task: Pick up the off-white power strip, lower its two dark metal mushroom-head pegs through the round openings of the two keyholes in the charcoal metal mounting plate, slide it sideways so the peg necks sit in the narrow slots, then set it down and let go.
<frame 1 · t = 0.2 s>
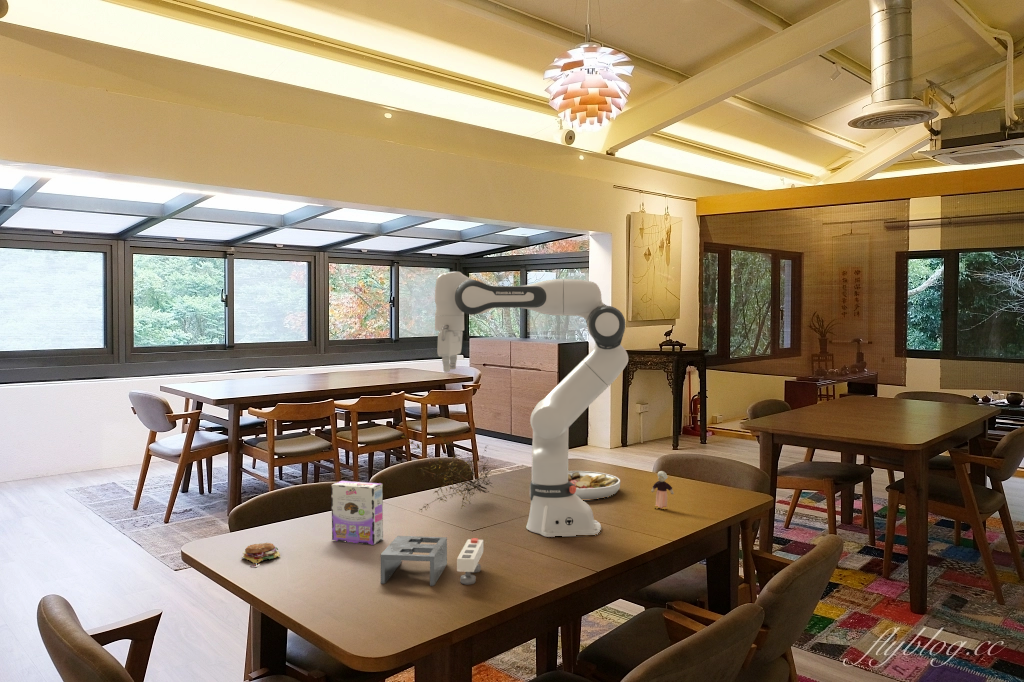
hand: (449, 370, 216), 48 cm above the table, tool pointing down, fingers open, 8 cm apart
keyhole plate: (415, 573, 176), on the table
candy box: (357, 541, 203), on the table
bowl: (579, 493, 260), on the table
power strip: (470, 575, 174), on the table
hamburger: (260, 562, 186), on the table
dried plant: (459, 515, 230), on the table
grandmother figurine: (662, 509, 236), on the table
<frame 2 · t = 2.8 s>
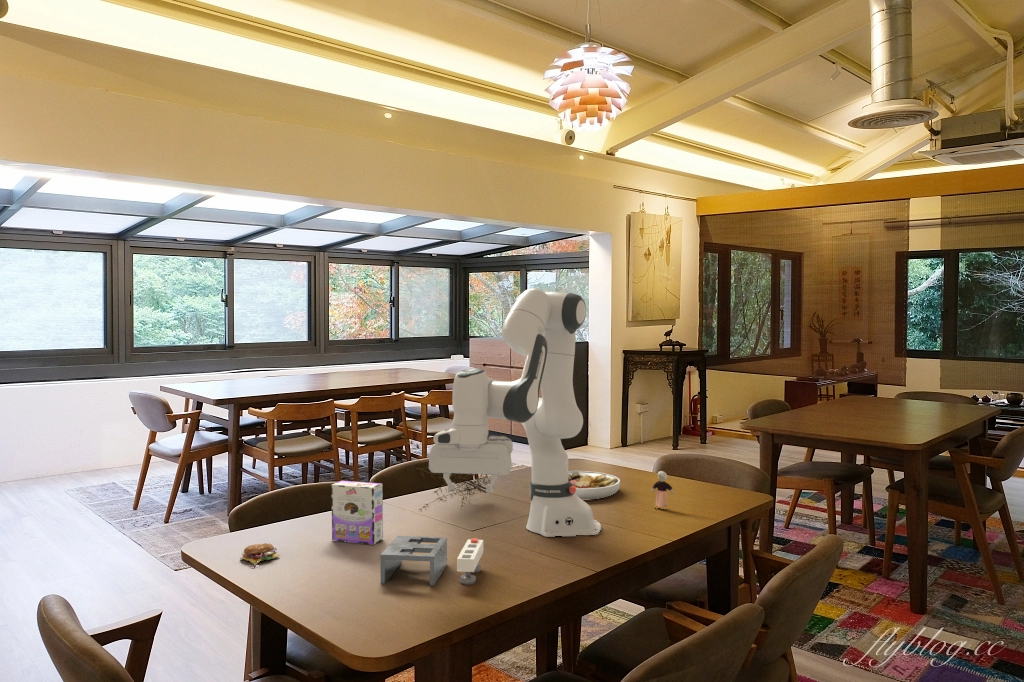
hand: (470, 491, 174), 21 cm above the table, tool pointing down, fingers open, 8 cm apart
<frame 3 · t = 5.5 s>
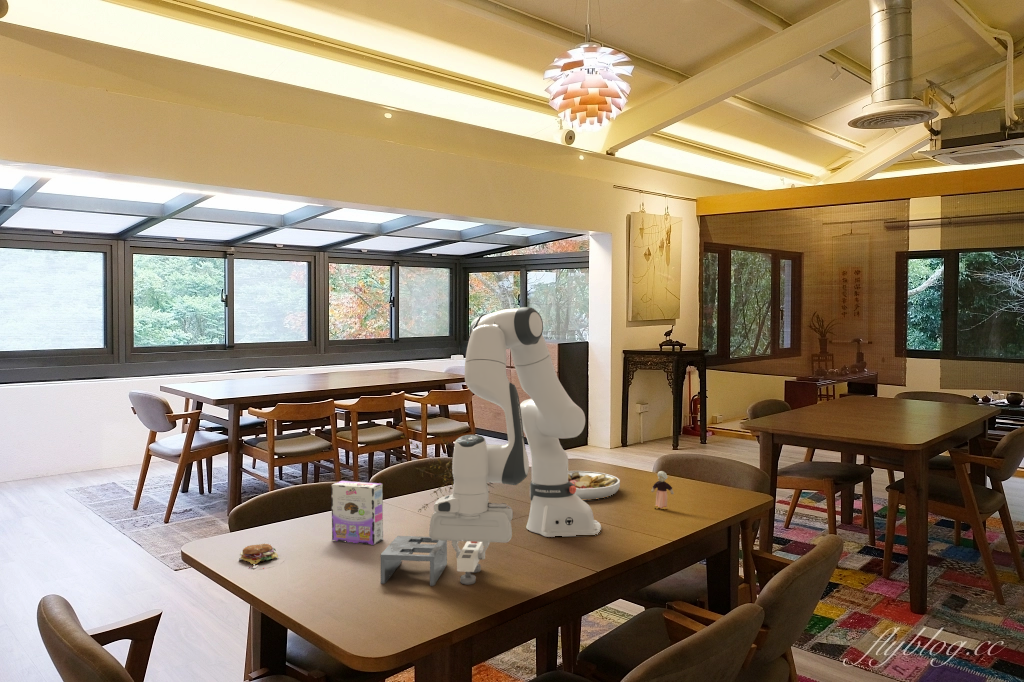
hand: (470, 558, 174), 4 cm above the table, tool pointing down, fingers closed on power strip, 4 cm apart
power strip: (470, 575, 174), on the table, touching gripper
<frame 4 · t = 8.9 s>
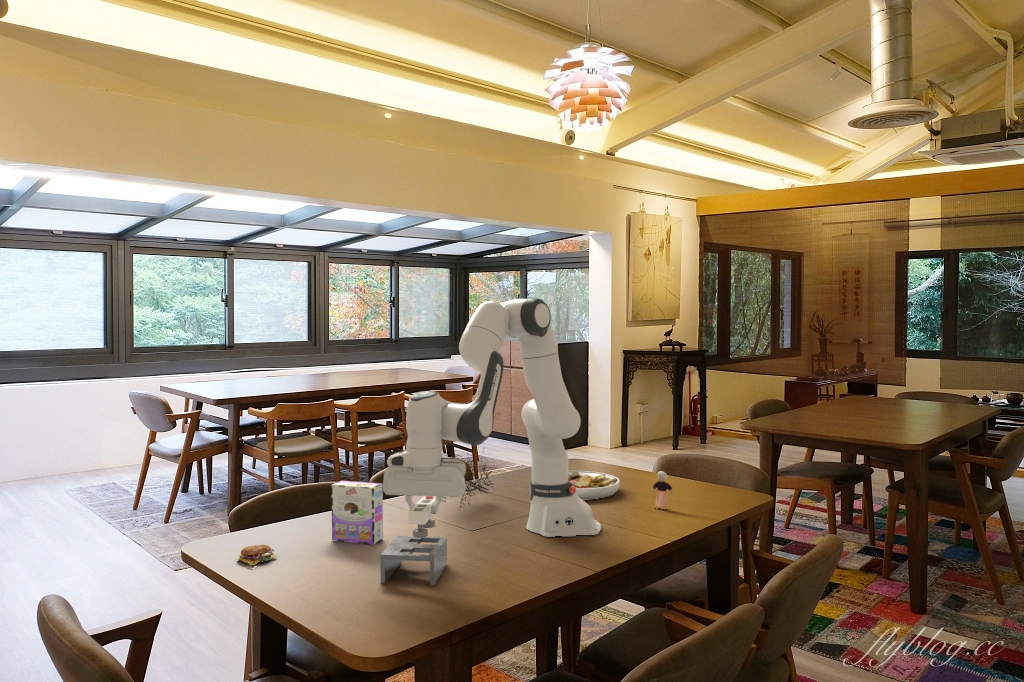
hand: (424, 513, 175), 15 cm above the table, tool pointing down, fingers closed on power strip, 4 cm apart
power strip: (424, 530, 175), point 11 cm above the table, touching gripper
when the fingers open (8 cm above the table, at t = 12.7 s): power strip stays where it is, resting on keyhole plate.
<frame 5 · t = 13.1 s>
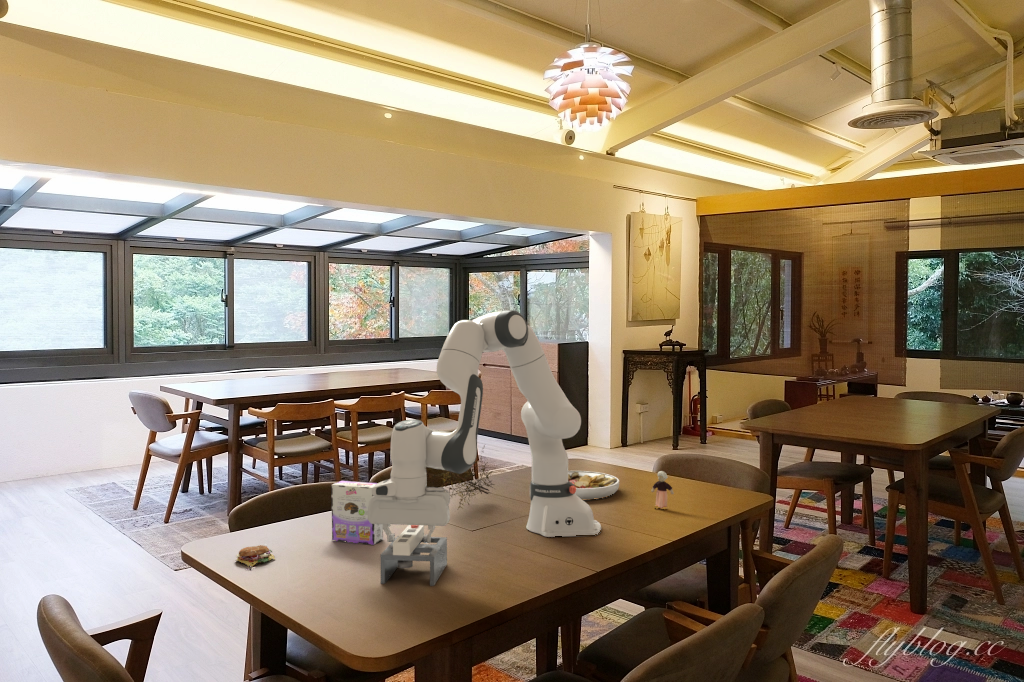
hand: (409, 541, 176), 8 cm above the table, tool pointing down, fingers open, 8 cm apart
power strip: (409, 560, 176), point 3 cm above the table, touching keyhole plate
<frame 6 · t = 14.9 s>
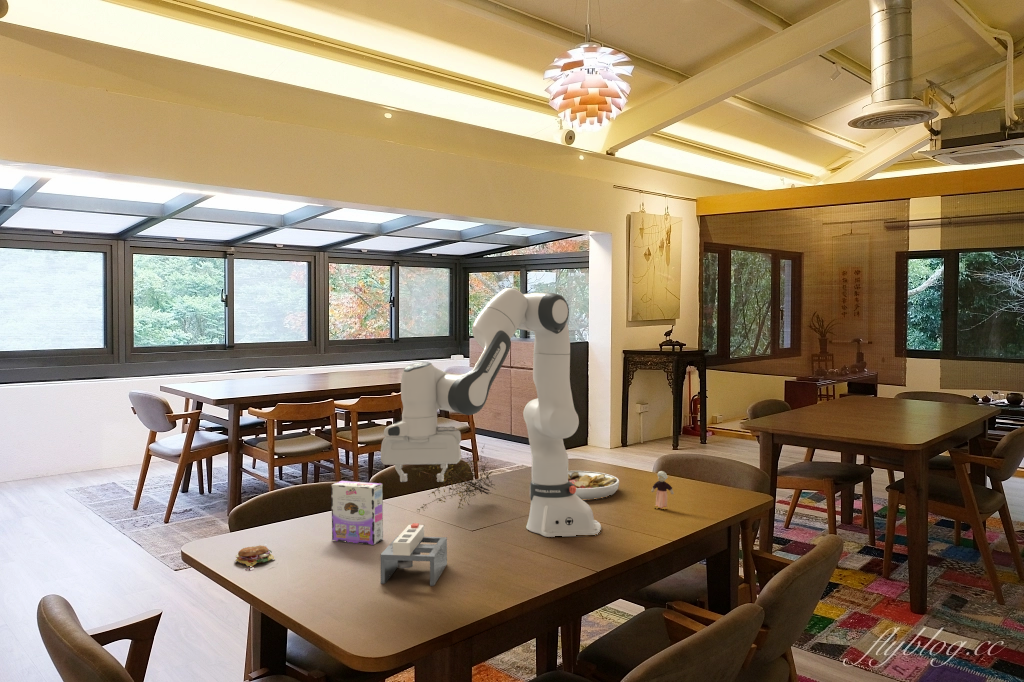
hand: (422, 481, 179), 22 cm above the table, tool pointing down, fingers open, 8 cm apart
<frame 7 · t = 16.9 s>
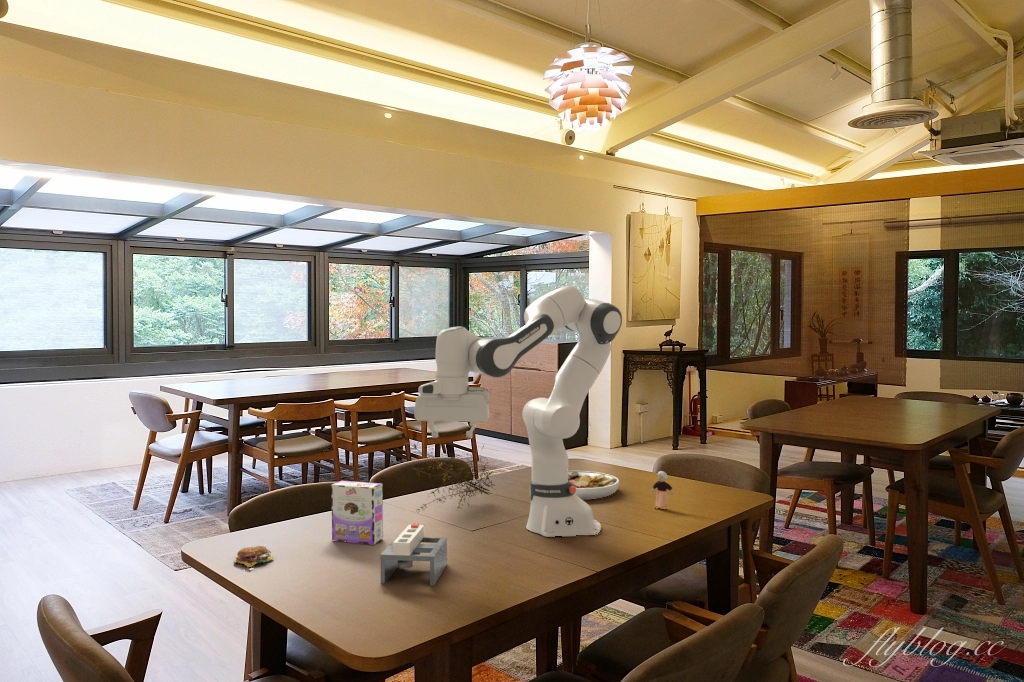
hand: (452, 437, 192), 31 cm above the table, tool pointing down, fingers open, 8 cm apart
at the end: power strip 0.1 cm from the target spot on the keyhole plate, point 3.3 cm above the keyhole plate's base; power strip tilted 0°; the gripper is holding nothing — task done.
